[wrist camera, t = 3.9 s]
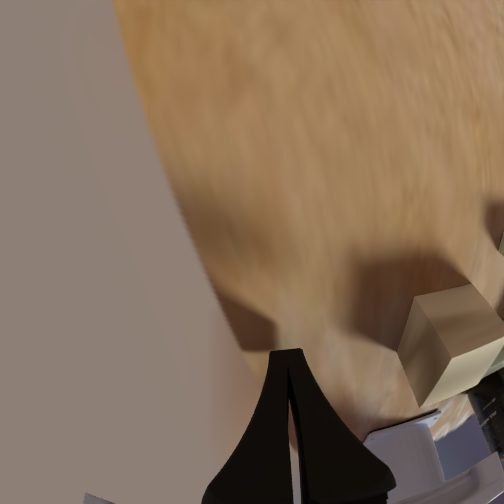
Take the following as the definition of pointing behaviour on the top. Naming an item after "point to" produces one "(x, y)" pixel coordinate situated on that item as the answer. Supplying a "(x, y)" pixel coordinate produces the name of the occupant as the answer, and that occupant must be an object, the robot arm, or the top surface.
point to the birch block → (449, 342)
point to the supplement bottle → (490, 410)
